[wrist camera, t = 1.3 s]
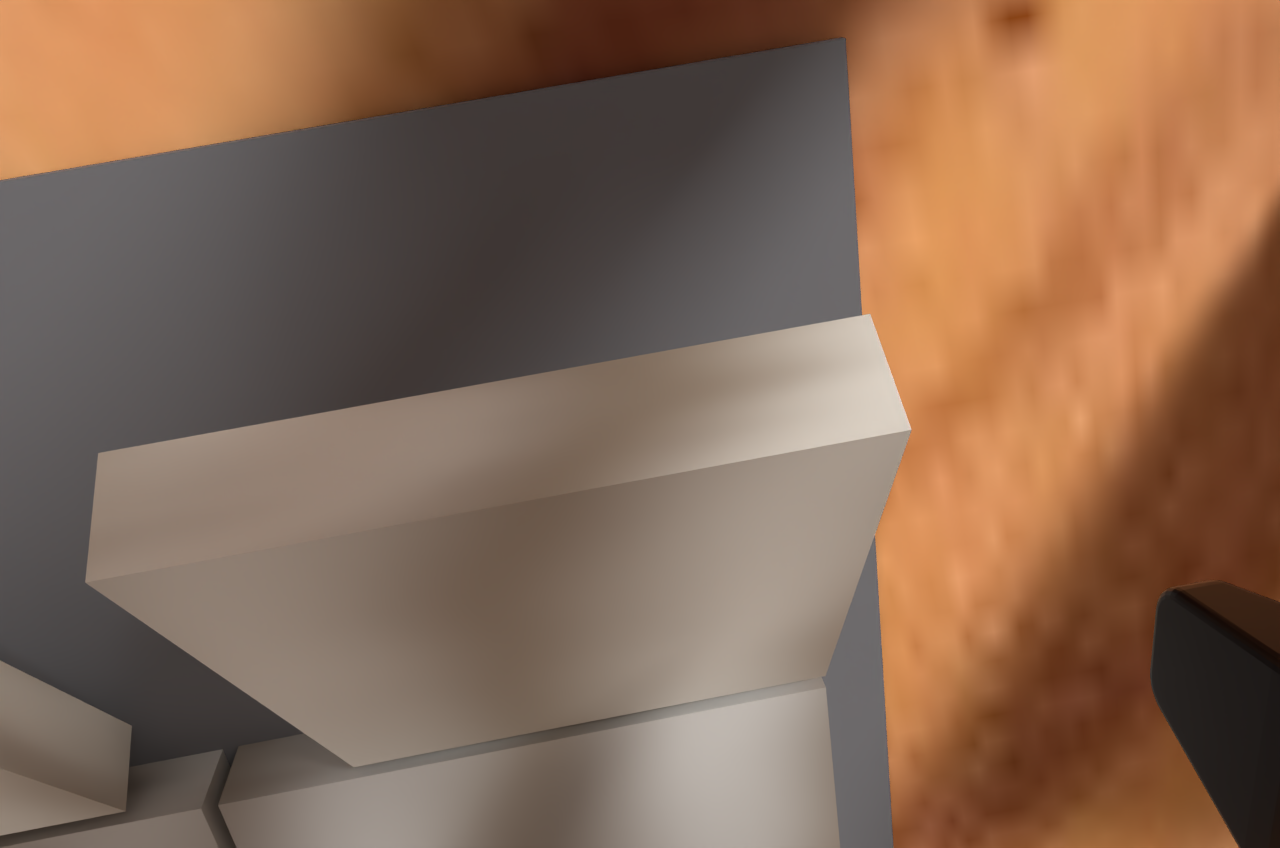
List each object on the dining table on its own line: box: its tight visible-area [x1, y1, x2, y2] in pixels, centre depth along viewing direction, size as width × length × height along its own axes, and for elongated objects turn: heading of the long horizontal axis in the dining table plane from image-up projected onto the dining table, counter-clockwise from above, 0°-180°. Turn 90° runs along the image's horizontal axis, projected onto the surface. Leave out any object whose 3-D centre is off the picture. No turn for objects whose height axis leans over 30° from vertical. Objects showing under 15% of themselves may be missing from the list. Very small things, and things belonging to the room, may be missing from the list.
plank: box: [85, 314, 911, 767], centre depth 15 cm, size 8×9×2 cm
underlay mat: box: [0, 37, 893, 848], centre depth 20 cm, size 24×22×1 cm
